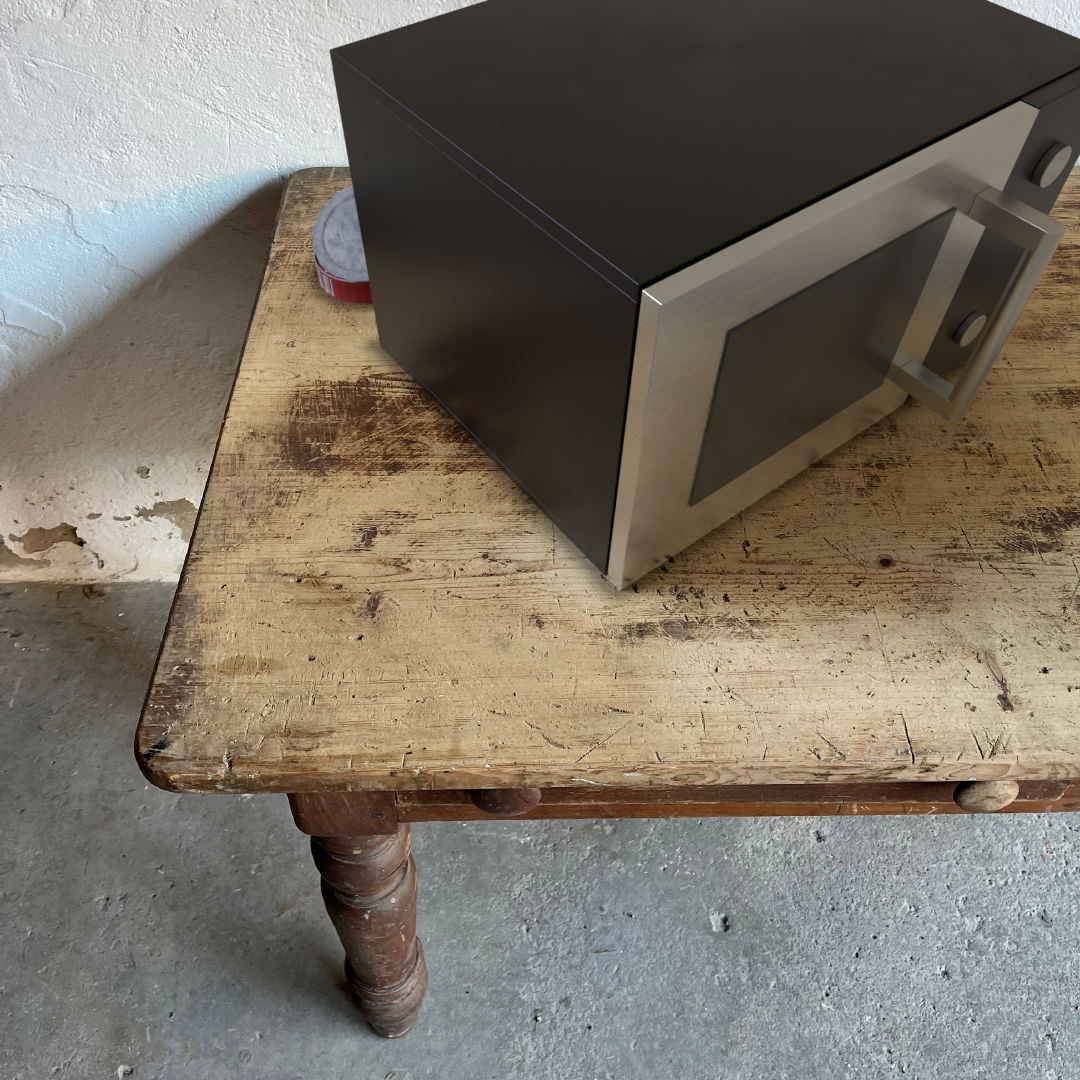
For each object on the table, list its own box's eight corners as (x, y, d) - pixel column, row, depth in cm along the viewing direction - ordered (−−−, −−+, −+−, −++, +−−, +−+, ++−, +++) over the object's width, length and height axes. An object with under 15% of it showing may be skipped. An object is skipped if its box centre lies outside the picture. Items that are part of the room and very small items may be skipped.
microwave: (982, 359, 87) (1140, 63, 64) (624, 598, 70) (668, 307, 47) (719, 190, 104) (771, -90, 81) (380, 348, 87) (328, 49, 64)
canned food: (419, 303, 98) (449, 248, 90) (348, 339, 93) (372, 284, 84) (356, 222, 98) (380, 159, 90) (281, 254, 93) (299, 190, 84)
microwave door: (961, 445, 79) (1127, 150, 57) (675, 649, 67) (747, 370, 45) (889, 395, 83) (1020, 100, 61) (606, 578, 70) (641, 289, 48)
